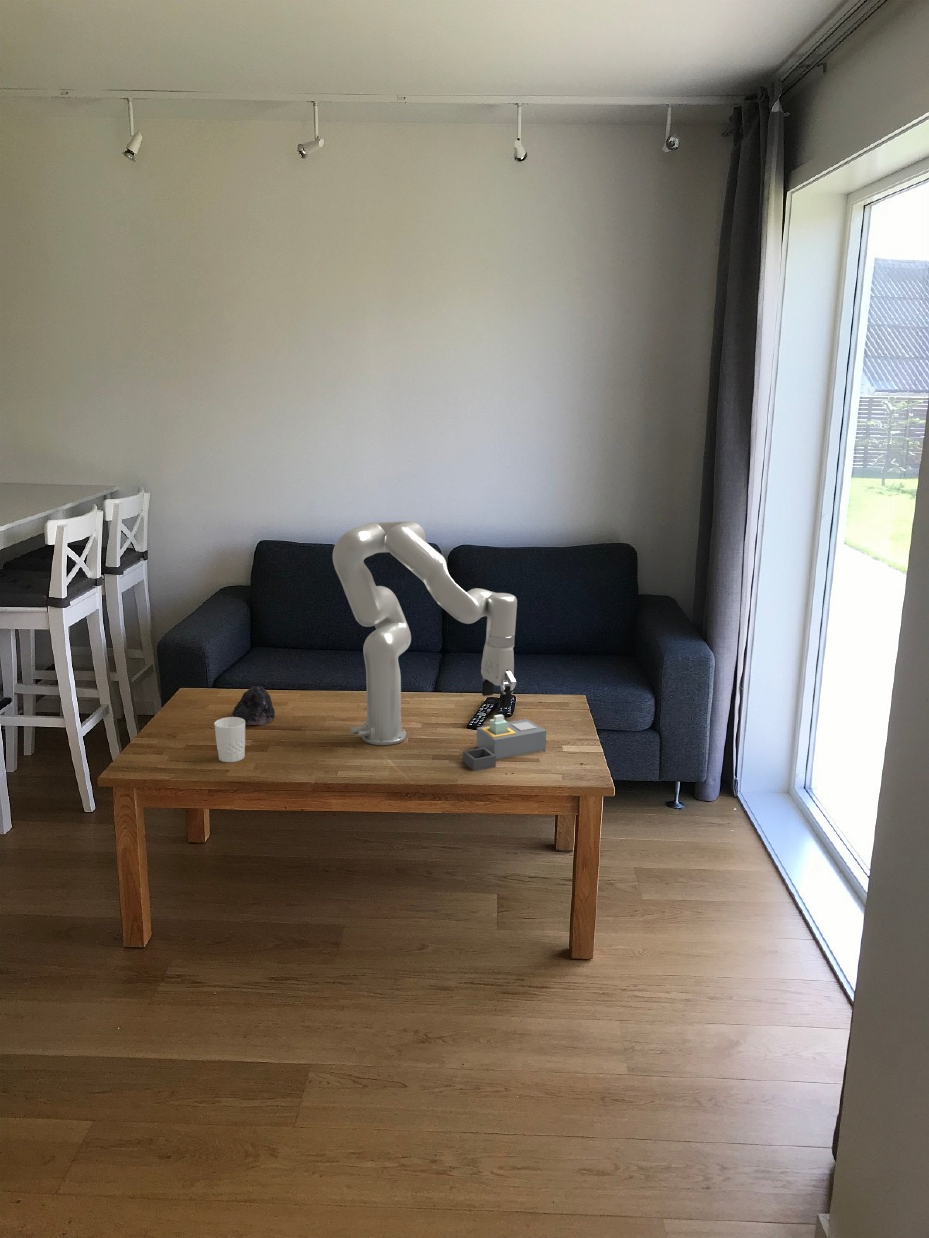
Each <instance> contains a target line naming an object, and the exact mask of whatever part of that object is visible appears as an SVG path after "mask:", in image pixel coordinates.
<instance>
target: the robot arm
mask: <svg viewBox="0 0 929 1238" xmlns="http://www.w3.org/2000/svg"><path fill="white" fill-rule="evenodd" d="M426 539H427V538H426V532H425V530H424V528H423V527H422V526H421V525H420V524H418V523H417V522H415V521H411V520H407V521H406V520H405V521H388V522H387V521H384V522H378V521H377V522H369V523H365V524H363V525H360V526H356V527H354V528H352V529H349V530H348V531H346V532H345V533H344V534H342V535H341V536H340V537H339V538H338V540H337V541H336V543H335V544H334V547H333V551H332V562H333V563H332V564H333V566H334V570H335V572H336V574H337V576H338V578H339V581H340V583H341V585H342V588H343V591H344V594H345V596H346V598H347V599H346V600H347V601H348V604H349V606H350V609H351V611H352V614H353V617H354V618H355V621H357V623H358V624H359V625H361V626H362V627H367V628H368V627H375V630H373V631H372V632H371V633H369V635H368V636H367V637H366V638H365V641H364V643H363V649H362V650H363V651H362V652H363V658H364V659H363V660H364V664H365V677H366V679H365V680H366V720H365V721H363V724H361V725H360V726H355V727H354V726H353V727H350V734H351V735H352V736H353V735H354V736H355V735H358V737H361V739H362V740H363V741H364V742H366V743H367V744H369V745H375V746H391V745H396V744H399V743H402V742H404V741H405V740H406V739H407V735H408V734H407V731H406V730H405V729H403V728H402V684H401V683H402V678H401V677H402V675H401V669H400V664H399V657H400V656H401V655H402V654H403V653H405V651H407V650H408V649H409V647H410V645H411V642H412V635H411V634H412V633H411V631H410V628H409V625H408V622H407V620H406V617H405V614H404V612H403V610H402V607H401V605H400V602H399V600H398V598H397V596H396V594H395V593H394V591H392V590H391V589H390V588H388V587H387V586H383V585H376V583H375V580H374V576H373V575H372V573H371V571H370V570H369V568H368V567H367V565H366V564H365V562H364V560H365V559H366V558H368V557H371V556H374V555H375V554H379V553H390V555H392V556H393V557H394V558H395V559H397V560H398V561H399V562H400V563H401V564H402V565H403V566H405V568H407V569H408V570H409V571H411V572H412V573H413V574H414V575H415V576H416V577H417V578H418V579H420V580H421V581H422V582H423V583H424V585H425V587H426V589H427V591H428V592H429V593H430V595H431V597H432V598H433V599H434V601H435V602H436V603H437V604H438V605H439V606H440V607H441V608H442V609H443V610H444V611H446V612H447V614H449V615H450V616H451V617H453V619H455V620H456V621H459V622H460V623H463V624H467V625H469V624H473V623H475V622H477V621H479V620H480V619H481V618H483V617H486V618H487V619H486V634H485V635H486V636H485V643H484V647H483V651H482V652H483V653H482V659H481V662H480V667H481V669H480V673H481V680H482V688H481V689H482V691H481V695H482V696H483V697H488V696H493V695H494V689H495V687H494V685H495V686H497V687H498V686H499V687H500V691H501V693H500V694H499V708H500V709H506V708H507V709H508V708H510V707H512V698H513V693H514V690H515V687H516V685H517V681H516V678H515V677H514V670H515V658H514V657H515V656H514V655H515V654H514V653H515V652H514V647H515V636H516V621H517V609H518V599H517V597H516V596H515V595H513V594H511V593H507V592H495V591H490V590H488V589H485V588H477V587H475V588H471V589H470V590H468V591H465V590H464V589H463V588H461V586H459V584H457V583H456V582H455V580H454V579H453V578H452V577H451V575H450V574H449V573H450V572H449V570H448V565H447V561H446V558H445V556H443V555H442V553H440V552H439V551H438V550H437V549H435V548H433V546H431V545H430V543H428V542H427V541H426ZM505 686H506V687H505Z"/></svg>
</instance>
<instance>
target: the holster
mask: <svg viewBox="0 0 929 1238" xmlns="http://www.w3.org/2000/svg"><path fill="white" fill-rule="evenodd" d="M462 763H464V765H465V766H467V767H468V768H469V769H471V770H472V771H473V772H475V771H476V772H477V771H482V770H486V769H487V770H488V769H492V768H496V766H497V759H496V755H494V754H493V753H491V752H490V751H489V750H487V749H486V748H485V747H483V748H478V747H477V748H473V749H469V750H468V749H467V750H463V751H462Z"/></svg>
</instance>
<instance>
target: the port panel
mask: <svg viewBox="0 0 929 1238" xmlns="http://www.w3.org/2000/svg"><path fill="white" fill-rule="evenodd" d="M507 722H508V733H504V734H498V735H494V734H493V733H491V732H490V731H489V729H490V725H484V726H480V727H476V747H477V749H478V748H483V747H485V748H486V749H487V750H489V751H490V752H491V753H493V754H494V755H496V760H500V759H506V758H510V757H515V756H522V755H525V754H530V753H535V752H542V751H543V752H546V749H547V748H546V745H547V743H546V742H547V741H546V740H547V730H545V729H544V728H542V727H541V726H540V725H538V724H536V723H535V722H534V721H532V720H530V719H528V718H525V719H520V720H513V721H507Z"/></svg>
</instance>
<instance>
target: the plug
mask: <svg viewBox="0 0 929 1238" xmlns="http://www.w3.org/2000/svg"><path fill="white" fill-rule="evenodd" d="M508 722H509V721H507V720H505V715H503V713H502V714H496V715H495V714H494V715H493V718H492V719H489V726H490V729H489V731H490V732H491V733H493V734H494V735H498V734H504V733H508Z"/></svg>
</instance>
